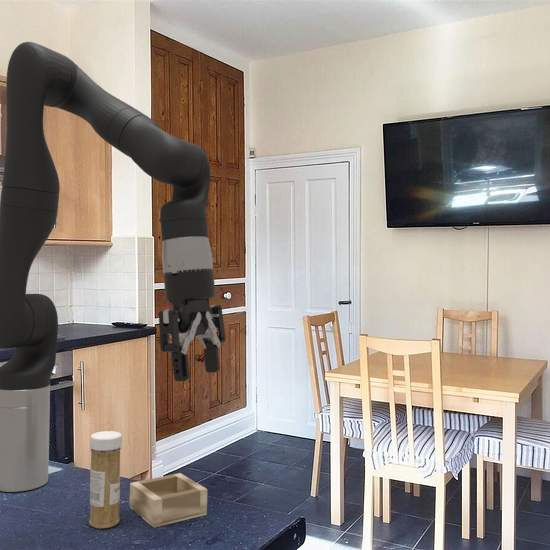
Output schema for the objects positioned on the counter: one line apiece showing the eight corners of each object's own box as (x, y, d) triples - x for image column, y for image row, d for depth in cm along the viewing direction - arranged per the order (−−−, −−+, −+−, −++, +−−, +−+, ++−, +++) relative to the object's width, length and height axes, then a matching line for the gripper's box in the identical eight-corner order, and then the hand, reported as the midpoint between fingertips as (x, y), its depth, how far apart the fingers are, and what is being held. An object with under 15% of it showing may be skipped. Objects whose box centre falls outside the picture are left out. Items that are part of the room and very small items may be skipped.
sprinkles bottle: (124, 525, 92) (126, 435, 92) (93, 532, 89) (95, 439, 89) (113, 514, 96) (116, 428, 96) (84, 520, 93) (86, 432, 93)
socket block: (129, 507, 99) (130, 483, 99) (179, 496, 104) (180, 473, 104) (153, 527, 91) (154, 500, 91) (206, 514, 97) (207, 489, 97)
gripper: (193, 272, 102) (202, 370, 101) (139, 271, 89) (149, 384, 88) (232, 267, 99) (242, 368, 98) (182, 265, 86) (193, 382, 85)
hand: (198, 376), depth 93 cm, fingers open, 8 cm apart
